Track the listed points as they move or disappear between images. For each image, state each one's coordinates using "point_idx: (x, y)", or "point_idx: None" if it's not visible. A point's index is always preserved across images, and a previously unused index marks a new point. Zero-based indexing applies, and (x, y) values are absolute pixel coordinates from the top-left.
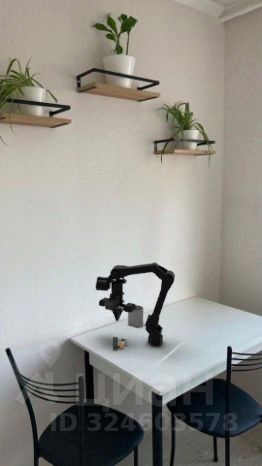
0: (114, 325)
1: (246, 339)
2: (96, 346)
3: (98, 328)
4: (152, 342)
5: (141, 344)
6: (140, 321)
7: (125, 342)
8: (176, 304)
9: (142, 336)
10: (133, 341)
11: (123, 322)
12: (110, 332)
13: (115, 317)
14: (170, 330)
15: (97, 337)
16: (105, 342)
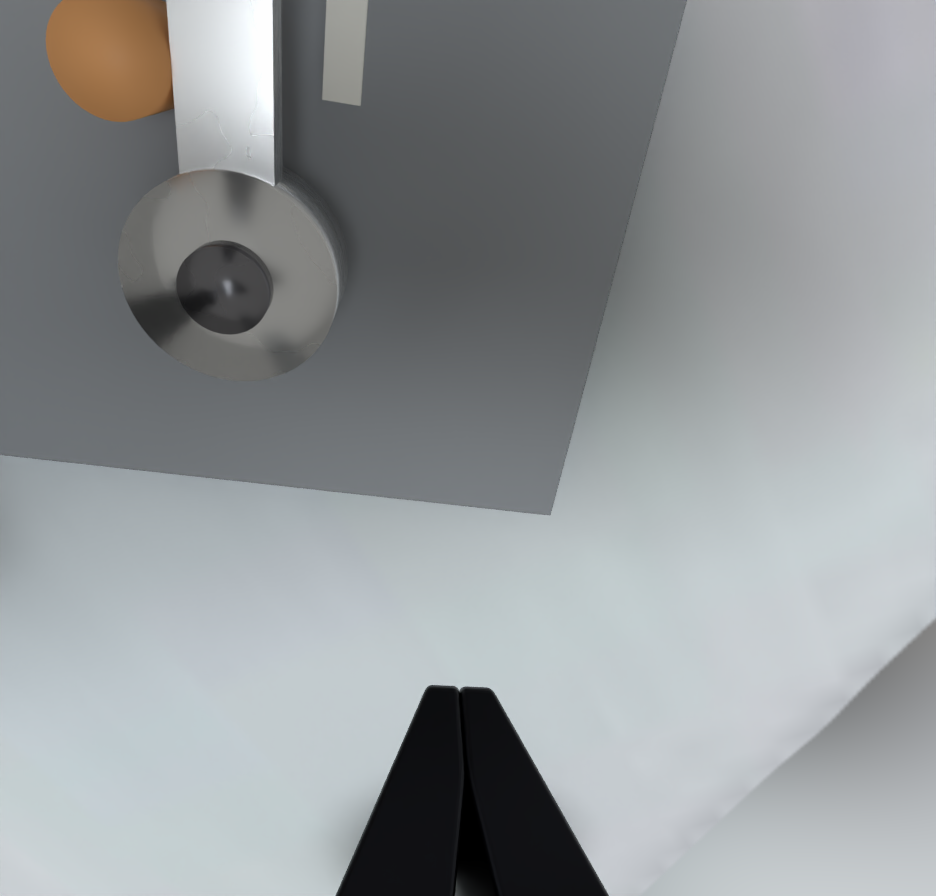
0: (714, 757)
1: None
2: (786, 3)
3: (920, 622)
4: None
5: (53, 473)
6: None
7: (122, 235)
8: None
9: (210, 670)
10: (228, 504)
11: (629, 841)
12: (700, 595)
13: (518, 825)
14: (25, 882)
15: (866, 373)
16: (658, 266)
